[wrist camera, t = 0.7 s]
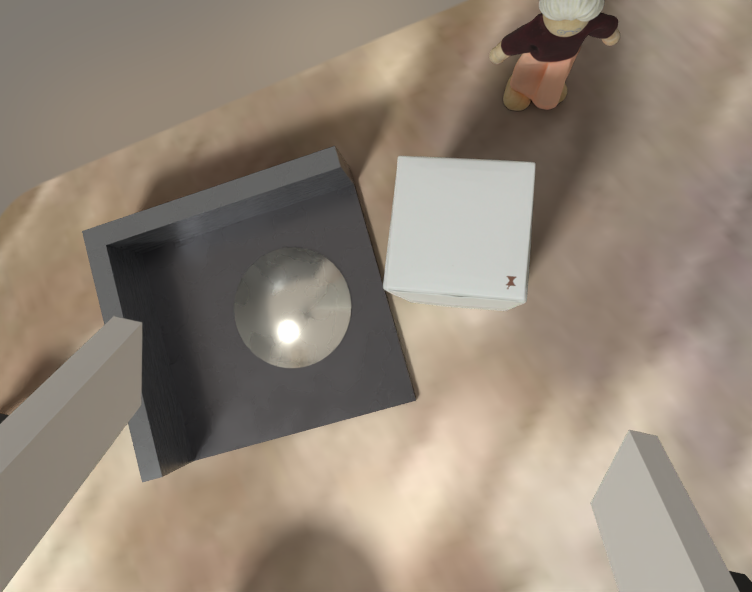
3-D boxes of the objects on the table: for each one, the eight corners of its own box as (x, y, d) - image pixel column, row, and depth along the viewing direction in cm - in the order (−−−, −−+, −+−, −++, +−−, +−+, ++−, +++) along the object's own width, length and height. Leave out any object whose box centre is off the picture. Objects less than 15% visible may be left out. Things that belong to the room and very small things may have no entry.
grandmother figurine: (498, 131, 41) (514, 45, 29) (482, 82, 42) (491, -23, 29) (603, 95, 40) (668, -9, 28) (586, 45, 41) (643, -80, 28)
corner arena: (349, 166, 43) (334, 145, 38) (416, 399, 41) (410, 409, 36) (123, 241, 45) (82, 231, 40) (178, 464, 43) (142, 482, 38)
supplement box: (517, 210, 41) (543, 159, 28) (507, 313, 40) (529, 307, 28) (415, 202, 42) (396, 150, 29) (405, 302, 42) (381, 293, 29)
